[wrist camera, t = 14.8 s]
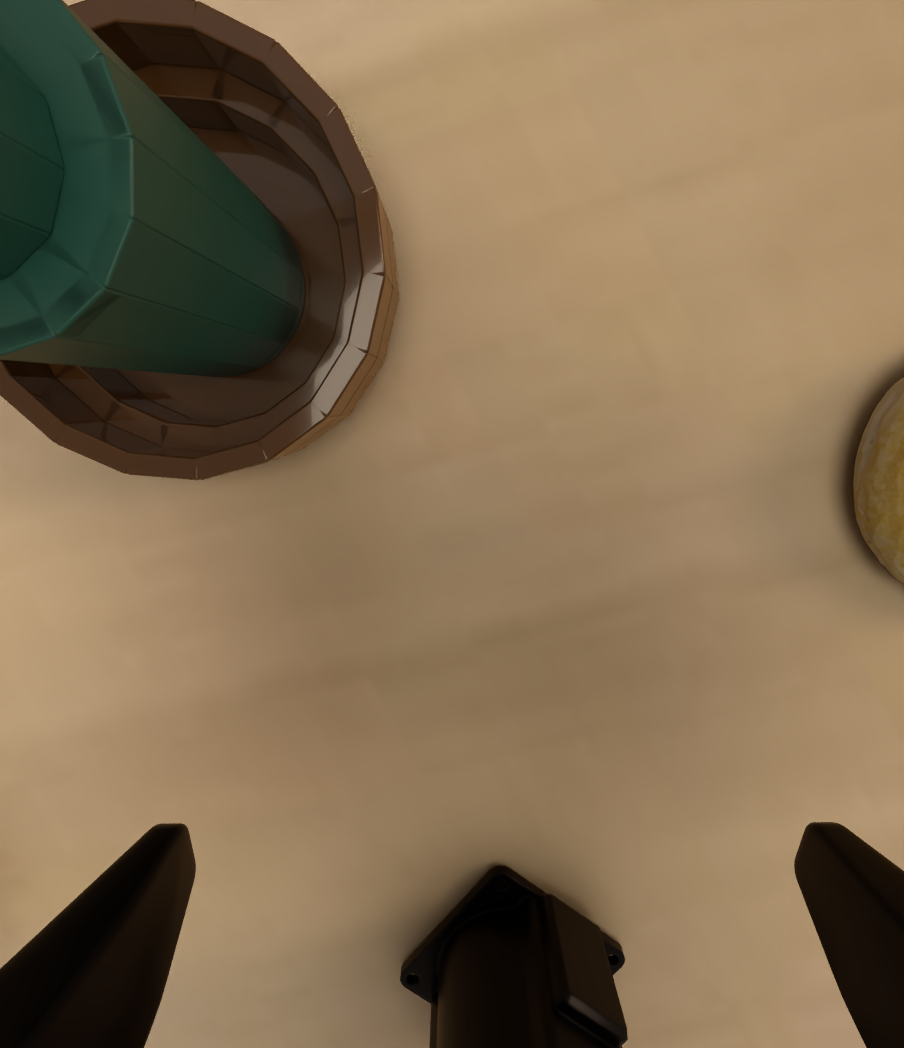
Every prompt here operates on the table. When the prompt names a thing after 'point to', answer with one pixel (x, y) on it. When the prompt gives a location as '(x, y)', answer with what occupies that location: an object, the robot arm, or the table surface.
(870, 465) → the bread roll
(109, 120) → the ceramic bottle
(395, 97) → the table surface
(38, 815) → the table surface
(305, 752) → the table surface
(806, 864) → the robot arm
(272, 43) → the brown round bowl
